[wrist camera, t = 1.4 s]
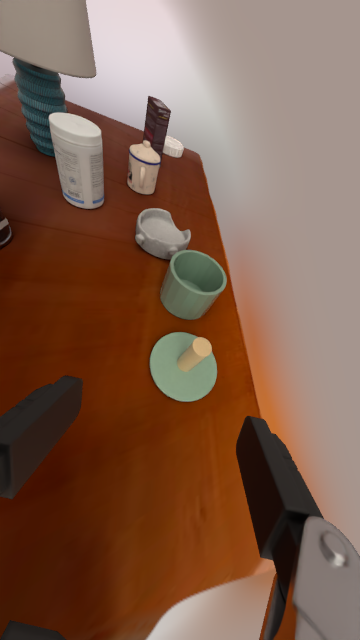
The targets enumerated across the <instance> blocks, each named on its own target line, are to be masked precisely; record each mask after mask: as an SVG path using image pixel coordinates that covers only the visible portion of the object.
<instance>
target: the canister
mask: <svg viewBox="0 0 360 640" xmlns="http://www.w3.org/2000/svg"><path fill="white" fill-rule="evenodd" d="M225 286H226V275H225V272H224V270H223V269H222V267H221V266H220V265H219V264H218V263H217V262H216V261H215V260H214V259H213V258H211V257H209V256H208V255H206V254H204V253H201V252H199V251H194V250H182V251H179V252H177V253H176V254H175V255H174V256H173V257H172V258H171V261H170V264H169V267H168V270H167V272H166V275H165V278H164V281H163V284H162V287H161V289H160V298H161V301H162V303H163V305H164V307H165V308H166V309H167V310H168V311H169V312H170V313H172V314H173V315H175V316H177V317H179V318H182V319H187V320H193V319H197V318H200V317H201V316H203V315H204V314H205V313H206V312H207V310H208V309H209V308H210V306H211V305H212V304H213V303H214V301H215V300H216V299H217V297H218V296H219V295H220V294H221V292H222V291H223V289H224V288H225Z"/></svg>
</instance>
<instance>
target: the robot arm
mask: <svg viewBox="0 0 360 640" xmlns="http://www.w3.org/2000/svg"><path fill="white" fill-rule="evenodd" d="M8 224H9V223H8V221H7V219H5V217H4V215H3V212H2V210H1V208H0V248H2V247H4V246H5V245H7V244H8V243H9V242H10V241H11V239H12V237H13V233H12V231H11V228H10V226H9V225H8ZM82 385H83V381H82V379H80V378H76V377H71V376H66V375H65V376H63V377H62V378H60V379H59V380H58V381H57V382H56V383H54V384H48V385H45V386H43V387H41V388H39V389H36V390H35V391H34V392H32V393H31V394H30V395H28V396H27V397H26V398H25V399H24V400H22V401H21V402H19V403H18V404H17V405H16V406H15V407H13V408H11V409H10V410H9V411H7V412H6V413H5V414H4V415H2V416H1V417H0V496H1V497H5V498H9V499H13V498H14V496H15V495H16V494H17V493H18V491H19V490H20V489H21V487H22V486H23V485H24V484H25V482H26V481H27V480H28V479H29V477H30V476H31V475H32V473H33V472H34V471H35V470H36V468H37V467H38V466H39V465H40V463H41V462H42V461H43V460H44V458H45V457H46V456H47V454H48V453H49V452H50V451H51V449H52V448H53V447H54V446H55V444H56V443H57V442H58V440H59V439H60V438H61V437H62V435H63V434H64V433H65V432H66V430H67V429H68V428H69V426H70V425H71V424H72V423H73V421H74V420H75V419H76V417H77V415H78V413H79V411H80V408H81V398H82ZM236 455H237V459H238V464H239V468H240V472H241V476H242V481H243V485H244V489H245V494H246V498H247V502H248V506H249V511H250V515H251V519H252V523H253V528H254V532H255V536H256V540H257V545H258V549H259V553H260V557H261V558H266V559H270V560H273V561H274V565H275V568H276V572H277V573H276V574H275V577H274V580H273V584H272V588H271V592H270V597H269V601H268V605H267V609H266V613H265V617H264V621H263V626H262V630H261V634H260V638H259V640H360V556H359V554H358V553H357V551H356V550H355V548H354V547H353V545H352V544H351V543H350V541H349V540H348V539H347V538H346V537H345V536H344V534H343V533H342V532H341V531H340V530H339V529H337V528H336V527H335V526H334V525H332V524H331V523H330V522H328V521H326V520H325V519H324V518H323V516H322V514H321V512H320V510H319V508H318V507H317V505H316V503H315V501H314V499H313V497H312V495H311V493H310V491H309V489H308V488H307V486H306V484H305V482H304V480H303V478H302V476H301V474H300V473H299V471H298V470H297V467H296V465H295V463H294V461H293V460H292V457H291V455H290V453H289V451H288V450H287V448H286V446H285V444H284V443H283V442H282V441H281V440H280V439H279V438H278V436H277V435H276V434H272V433H271V431H270V429H269V427H268V425H267V423H266V421H265V420H264V419H260V418H255V417H251V416H247V417H246V418H245V420H244V423H243V426H242V428H241V431H240V434H239V437H238V440H237V444H236ZM0 640H66V639H65V638H64V637H63V636H62V635H61V634H59V633H58V632H57V631H53V630H49V629H45V628H41V627H36V626H32V625H28V624H24V623H19V622H15V621H11V620H10V622H9V623H8V625H7V627H6V629H5V631H4V633H3V635H2V637H1V639H0Z"/></svg>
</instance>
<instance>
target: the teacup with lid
mask: <svg viewBox="0 0 360 640" xmlns="http://www.w3.org/2000/svg"><path fill="white" fill-rule="evenodd" d="M129 153H130V154H129V167H128V180H127V183H128V185H129V187H130V188H131V189H132V190H134V191H136V192H138V193H141V194H152V193H153V192H154V190H155V184H156V179H157V174H158V168H159V164H160V162H161V160H160V156H159V155H158V154H157V153H156V152H155V151H154V150H153V149H152V148H151V147H150V142H149V141H146V140H144V141H143V144H139V145H132V146H131V147H130V149H129Z"/></svg>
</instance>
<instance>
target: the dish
mask: <svg viewBox="0 0 360 640" xmlns="http://www.w3.org/2000/svg"><path fill="white" fill-rule="evenodd" d="M190 237H191V235H190V230H186V231H179V230H178V229H177V228H176V227H175V225H174V223H173V221H172V218H171V215H170V213H169V212H168V211H165V210H162V209H159V208H158V209H156V208H152V209H146V210H143V211H142V213H140V214H139V216H138V219H137V224H136V236H135V239H136V242H137V243H138V244H139V245H140V246H141V247H142V248H143V249H144V250H145V251H147V252H148V253H150V254H152V255H154V256H156V257H159V258H162V259H171V258H172V257H173V256H174V255H175V254H176V253H177V252H179V251H182V250H186V248H187V246H188V244H189V241H190Z"/></svg>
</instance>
